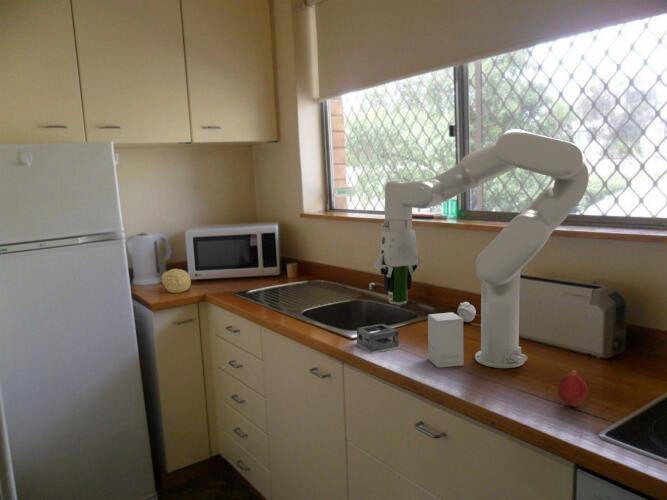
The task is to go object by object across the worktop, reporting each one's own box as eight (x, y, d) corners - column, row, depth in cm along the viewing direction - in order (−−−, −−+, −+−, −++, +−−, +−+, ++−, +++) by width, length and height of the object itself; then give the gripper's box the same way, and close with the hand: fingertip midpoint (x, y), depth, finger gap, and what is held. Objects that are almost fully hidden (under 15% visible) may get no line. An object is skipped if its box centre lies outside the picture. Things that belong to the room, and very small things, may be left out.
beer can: (396, 305, 148) (397, 263, 146) (384, 301, 152) (384, 260, 150) (411, 302, 151) (411, 261, 149) (398, 299, 155) (399, 258, 153)
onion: (557, 410, 111) (558, 373, 110) (556, 399, 117) (557, 364, 115) (588, 414, 109) (589, 376, 108) (586, 402, 114) (587, 366, 113)
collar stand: (400, 347, 155) (399, 331, 154) (371, 353, 151) (370, 336, 150) (383, 339, 163) (383, 323, 163) (355, 344, 159) (355, 327, 159)
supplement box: (464, 365, 139) (464, 318, 137) (437, 368, 137) (436, 320, 136) (453, 356, 146) (453, 311, 144) (427, 358, 145) (427, 313, 143)
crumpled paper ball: (453, 323, 178) (453, 302, 177) (462, 318, 183) (462, 298, 182) (471, 325, 174) (471, 305, 173) (479, 320, 180) (479, 300, 179)
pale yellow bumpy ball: (159, 293, 241) (157, 270, 240) (176, 288, 252) (174, 265, 251) (179, 295, 237) (177, 271, 235) (196, 289, 248) (194, 266, 246)
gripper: (378, 228, 141) (378, 295, 144) (431, 225, 148) (430, 288, 151) (364, 226, 148) (365, 289, 151) (416, 222, 155) (416, 283, 158)
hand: (397, 288), depth 151 cm, fingers closed on beer can, 5 cm apart
